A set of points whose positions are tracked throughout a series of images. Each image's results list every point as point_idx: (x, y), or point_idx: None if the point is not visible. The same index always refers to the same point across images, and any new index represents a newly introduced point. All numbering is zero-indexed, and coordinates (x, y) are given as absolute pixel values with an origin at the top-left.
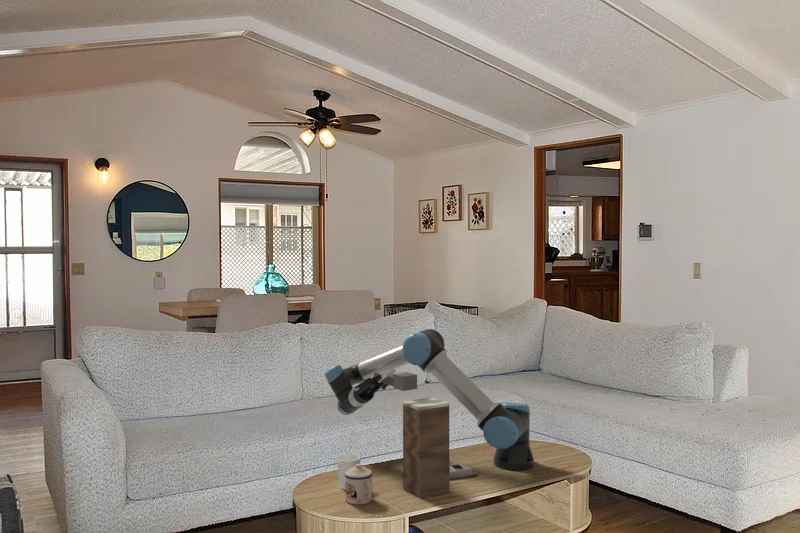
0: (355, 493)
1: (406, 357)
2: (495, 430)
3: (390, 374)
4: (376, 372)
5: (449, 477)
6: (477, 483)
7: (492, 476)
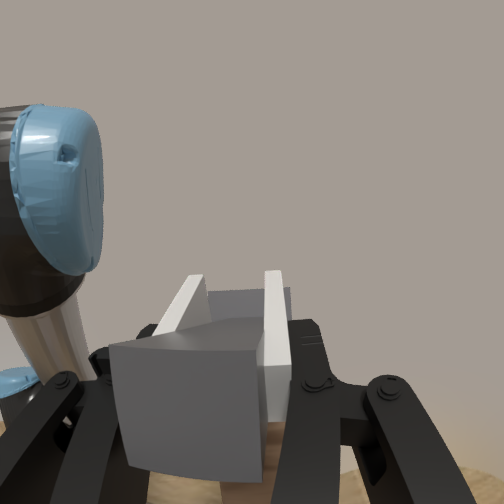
0: None
1: (80, 217)
2: None
3: (201, 326)
4: (227, 346)
5: None
6: (167, 490)
7: None
